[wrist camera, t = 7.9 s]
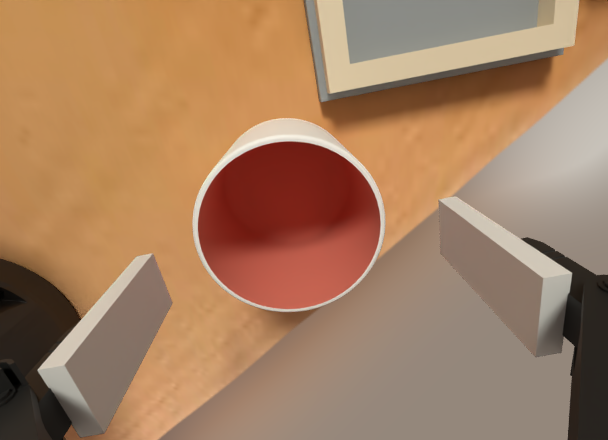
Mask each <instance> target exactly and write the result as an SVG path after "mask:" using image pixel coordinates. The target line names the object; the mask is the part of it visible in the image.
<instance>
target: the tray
mask: <svg viewBox="0 0 608 440" xmlns="http://www.w3.org/2000/svg"><path fill="white" fill-rule="evenodd" d="M304 5H305V12H306V18H307V25H308V31H309V37H310V44H311V50H312V57H313V63H314V69H315V76H316V82H317V89H318V95H319V101H320V102H324V101H329V100H334V99H339V98H344V97H350V96H355V95H360V94H365V93H370V92H375V91H380V90H385V89H390V88H395V87H400V86H405V85H410V84H416V83H421V82H426V81H431V80H436V79H441V78H446V77H451V76H456V75H461V74H466V73H471V72H477V71H482V70H487V69H492V68H497V67H502V66H507V65H512V64H517V63H522V62H527V61H532V60H537V59H543V58H548V57H553V56H558V55H563V51H564V47H569V46H574V44H575V35H576V25H577V16H578V7H579V0H304Z"/></svg>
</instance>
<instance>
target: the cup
mask: <svg viewBox="0 0 608 440" xmlns="http://www.w3.org/2000/svg"><path fill="white" fill-rule="evenodd" d="M384 234H385V211H384V205H383V201H382V197H381V194H380V192H379V189H378V187H377V185H376V183H375V181H374V180H373V178H372V176H371V175H370V173H369V172H368V171H367V169H366V168H365V167H364V166H363V165H362V164H361V163H360V162H359V161H358V160H357V159H356V158H355V157H354V156H353V155H352V154H351V153H350V152H349V151H348V150H347V149H346V148H345V147H344V146H343V145H342V144H341V143H340V142H339V141H338V140H336V139H335V138H334V137H333V136H332V135H331V134H330V133H329V132H327V131H326V130H325V129H323V128H321V127H320V126H318V125H316V124H313V123H311V122H308V121H305V120H300V119H294V118H280V119H273V120H269V121H265V122H263V123H260V124H258V125H256V126H254V127H252V128H250V129H249V130H247V131H246V132H245V133H243V134H242V135H241V136H240V137H239V138H238V139H237V140H236V141H235V142H234V144H233V145H232V146H231V147H230V149H229V150H228V151H227V152H226V154H225V155H224V156H223V157H222V159H221V160H220V161H219V162H218V163H217V165H216V166H215V167H214V168H213V170H212V171H211V172H210V174H209V175H208V177H207V178H206V180H205V181H204V183H203V185H202V187H201V189H200V191H199V193H198V196H197V199H196V202H195V207H194V212H193V236H194V242H195V246H196V249H197V252H198V255H199V257H200V259H201V261H202V263H203V265H204V267H205V268H206V270H207V272H208V273H209V274H210V276H211V277H212V278H213V279H214V280H215V281H216V283H217V284H218V285H219V286H221V287H222V288H223V289H224V290H225V291H226V292H228V293H229V294H231V295H232V296H234V297H235V298H237V299H239V300H240V301H242V302H244V303H247V304H249V305H252V306H254V307H257V308H261V309H265V310H270V311H277V312H299V311H306V310H311V309H315V308H318V307H321V306H324V305H327V304H329V303H331V302H333V301H335V300H337V299H339V298H341V297H342V296H344V295H346V294H347V293H348V292H350V291H351V290H352V289H353V288H355V287H356V286H357V285H358V284H359V283H360V282H361V281H362V280H363V279H364V278H365V276H366V275H367V274H368V272H369V271H370V269H371V268H372V266H373V265H374V263H375V261H376V259H377V257H378V255H379V253H380V250H381V247H382V243H383V239H384Z"/></svg>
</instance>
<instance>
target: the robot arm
mask: <svg viewBox="0 0 608 440" xmlns="http://www.w3.org/2000/svg"><path fill="white" fill-rule="evenodd" d="M439 225H440V253H441V255H442V256H443V257H444V258H445V259H446V260H447V261H448V262H449V263H450V264H451V266H453V268H454V269H455V270H456V271H457V272H458V273H459V274H460V275H461V276H462V278H463V279H464V280H465V281H466V282H467V283H468V284H469V285H470V286H471V287H472V289H473V290H474V291H475V292H476V293H477V294H478V295H479V296H480V297H481V298H482V299H483V301H484V302H485V303H486V304H487V305H488V306H489V307H490V308H491V309H492V310H493V311H494V313H495V314H496V315H497V316H498V317H499V318H500V319H501V320H502V321H503V322H504V323H505V324H506V326H507V327H508V328H509V329H510V330H511V331H512V332H513V333H514V334H515V335H516V337H517V338H518V339H519V340H520V341H521V342H522V343H523V344H524V345H525V346H526V347H527V349H528V350H529V351H530V352H531V353H532V354H533V355H534V356H535V357H540V356H546V355H551V354H557V353H561V351H562V345H563V337H565V338H566V339H568V340H569V341H570V342H571V343H572V344H573V345H574V346H575V347H574V354H573V360H572V367H571V374H570V375H571V376H572V383H571V398H570V413H569V428H568V440H608V275H595V274H594V273H592V272H590V271H589V270H587V269H585V268H584V267H582V266H581V265H579V264H577V263H576V262H574V261H572V260H571V259H569V258H567V257H565V256H564V255H563V254H561V253H559V252H558V251H555V250H554V249H553V248H551V247H550V246H548V245H546V244H544V243H543V242H540V241H537V240H534V239H530V238H523V239H520V238H518V237H516V236H515V235H513V234H512V233H510V232H509V231H507V230H506V229H504V228H503V227H501V226H500V225H498V224H497V223H495V222H494V221H492V220H491V219H489V218H488V217H486V216H485V215H483V214H482V213H480V212H478V211H477V210H475V209H474V208H472V207H471V206H469V205H468V204H466V203H465V202H463V201H462V200H460V199H459V198H457V197H456V196H455V197H450V198H444V199H439ZM171 305H172V300H171V298H170V295H169V293H168V290H167V287H166V285H165V282H164V280H163V277H162V275H161V272H160V270H159V267H158V265H157V262H156V260H155V257H154V255H153V253H152V254H147V255H141V256H137V257H136V258H135V259H134V260H133V261H132V262H131V263H130V265H129V266H128V267H127V268H126V269H125V270H124V271H123V273H122V274H121V275H120V276H119V277H118V278H117V279H116V281H115V282H114V283H113V284H112V285H111V286H110V287H109V289H108V290H107V291H106V292H105V293H104V294H103V295H102V297H101V298H100V299H99V300H98V301H97V302H96V303H95V305H94V306H93V307H92V308H91V309H90V310H89V311H88V313H87V314H86V315H85V316H84V317H83V318H82V319H81V321H80V320H79V318H78V316H77V314H76V312H75V310H74V309H73V307H72V306H71V304H70V303H69V302H68V301H67V299H66V298H65V297H64V296H63V295H62V294H61V293H60V292H59V291H58V290H57V289H56V288H55V287H54V286H52V285H51V284H50V283H49V282H47V281H46V280H45V279H43V278H42V277H40V276H38V275H37V274H35V273H33V272H32V271H30V270H28V269H26V268H24V267H21V266H19V265H17V264H14V263H12V262H9V261H6V260H3V259H0V440H66V439H65V438H64V435H65V434H66V432H67V431H68V429H69V427H70V426H71V424H72V426H73V427H74V429H75V430H76V432H77V434H78V435H79V437H80V438H81V437H87V436H92V435H98V434H104V433H105V431H106V430H107V428H108V426H109V424H110V422H111V420H112V418H113V416H114V414H115V412H116V410H117V408H118V407H119V405H120V403H121V401H122V399H123V397H124V395H125V393H126V391H127V389H128V387H129V385H130V384H131V382H132V380H133V378H134V376H135V374H136V372H137V370H138V368H139V366H140V364H141V362H142V361H143V359H144V357H145V355H146V353H147V351H148V349H149V347H150V345H151V343H152V341H153V339H154V338H155V336H156V334H157V332H158V330H159V328H160V326H161V324H162V322H163V320H164V318H165V316H166V315H167V313H168V311H169V309H170V307H171Z"/></svg>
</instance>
